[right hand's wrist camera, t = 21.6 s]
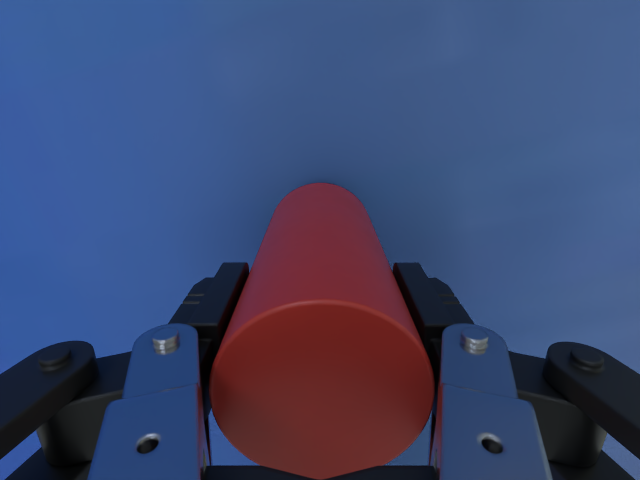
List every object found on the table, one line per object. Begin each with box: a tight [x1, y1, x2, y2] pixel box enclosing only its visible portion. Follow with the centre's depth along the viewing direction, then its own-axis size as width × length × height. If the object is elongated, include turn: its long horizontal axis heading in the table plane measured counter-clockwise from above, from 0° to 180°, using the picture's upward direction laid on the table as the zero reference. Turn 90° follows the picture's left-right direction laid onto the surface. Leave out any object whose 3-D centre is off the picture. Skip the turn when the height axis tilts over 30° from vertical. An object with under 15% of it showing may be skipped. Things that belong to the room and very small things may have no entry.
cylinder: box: [209, 183, 435, 479], centre depth 12 cm, size 5×5×10 cm
